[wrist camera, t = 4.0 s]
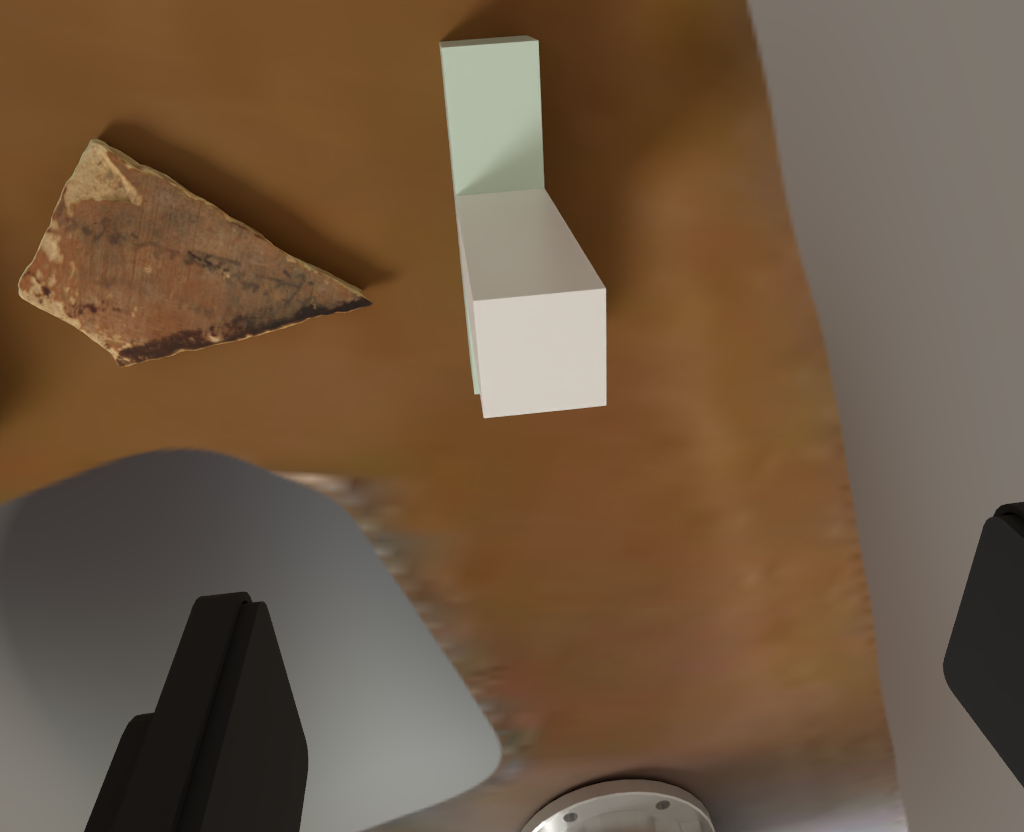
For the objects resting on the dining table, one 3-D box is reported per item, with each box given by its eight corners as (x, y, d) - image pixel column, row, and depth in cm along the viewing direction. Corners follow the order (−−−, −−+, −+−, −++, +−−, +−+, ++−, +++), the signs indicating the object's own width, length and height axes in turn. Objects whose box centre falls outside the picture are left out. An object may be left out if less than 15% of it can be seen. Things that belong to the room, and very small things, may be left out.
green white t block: (439, 41, 26) (453, 82, 15) (526, 34, 27) (604, 70, 15) (470, 361, 32) (497, 563, 21) (542, 354, 33) (606, 550, 21)
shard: (375, 290, 31) (373, 306, 29) (282, 432, 33) (275, 453, 32) (105, 124, 27) (85, 132, 26) (22, 298, 30) (0, 315, 28)
